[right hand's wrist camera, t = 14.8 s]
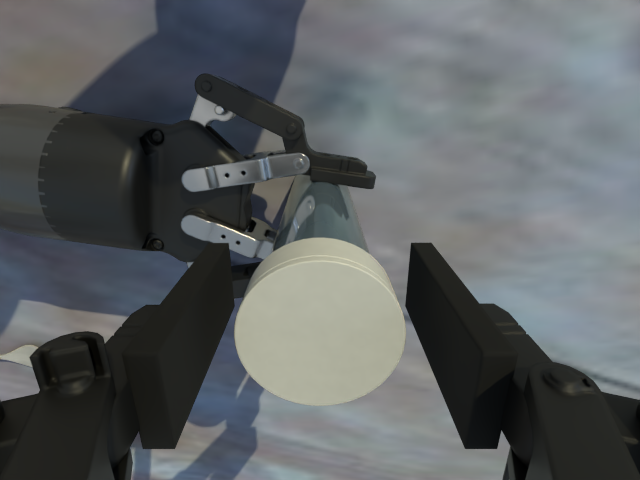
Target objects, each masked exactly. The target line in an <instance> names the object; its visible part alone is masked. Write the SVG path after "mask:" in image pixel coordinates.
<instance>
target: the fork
mask: <svg viewBox="0 0 640 480" xmlns="http://www.w3.org/2000/svg"><path fill="white" fill-rule="evenodd" d="M37 348H38V347H36V346H34V345H24V346H22V347H19V348H17V349H16V350H14V351H12V352H10V353H7V354H4V355H0V359H3V360H8V361H12V362H16V363H19V364H23V365H26V366H29V367H32V364H31V361H30V358H29V357H30V356H31V355H32V354H33V352H34V351H35V350H36V349H37ZM32 368H33V367H32Z"/></svg>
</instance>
